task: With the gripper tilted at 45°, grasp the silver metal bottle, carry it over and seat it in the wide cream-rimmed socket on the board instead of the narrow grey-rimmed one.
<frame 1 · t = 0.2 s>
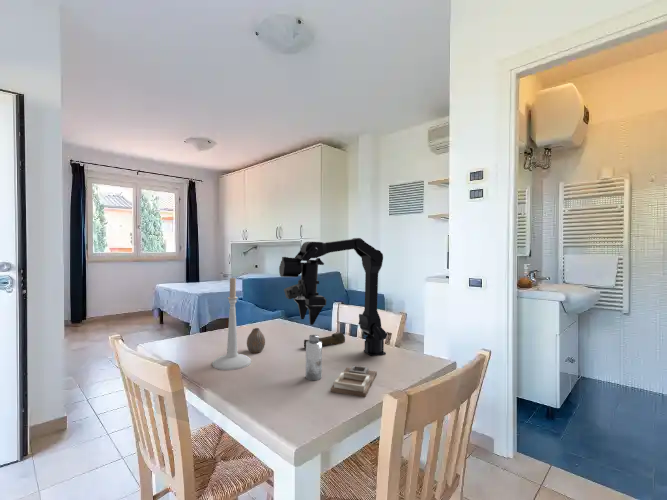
hand: (306, 321, 119), 14 cm above the table, tool pointing down, fingers open, 9 cm apart
candlestick: (232, 363, 118), on the table
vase: (255, 351, 131), on the table
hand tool: (325, 346, 140), on the table
socket board: (355, 382, 103), on the table
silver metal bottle: (313, 377, 106), on the table
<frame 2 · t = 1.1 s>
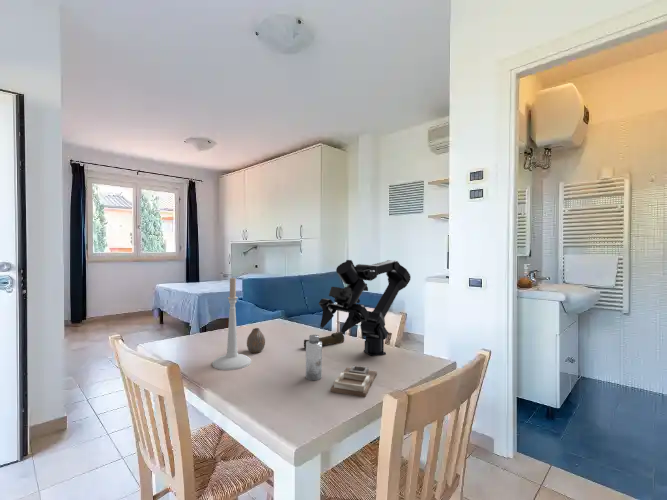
hand: (331, 329, 112), 13 cm above the table, tool tilted 45°, fingers open, 9 cm apart
nothing on the table moved.
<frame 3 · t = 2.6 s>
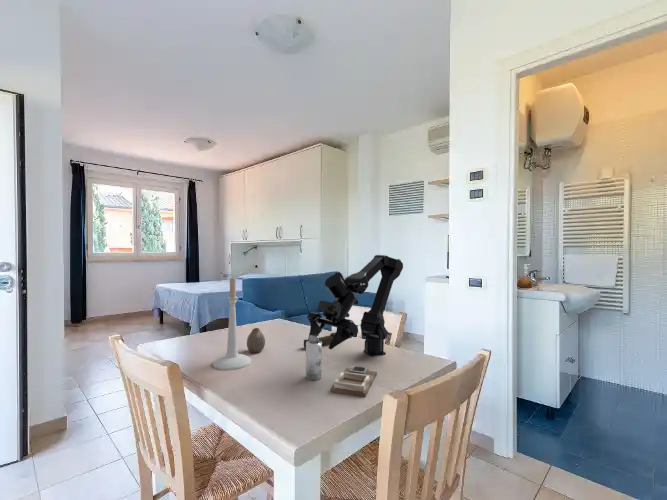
hand: (318, 345, 108), 9 cm above the table, tool tilted 45°, fingers open, 9 cm apart
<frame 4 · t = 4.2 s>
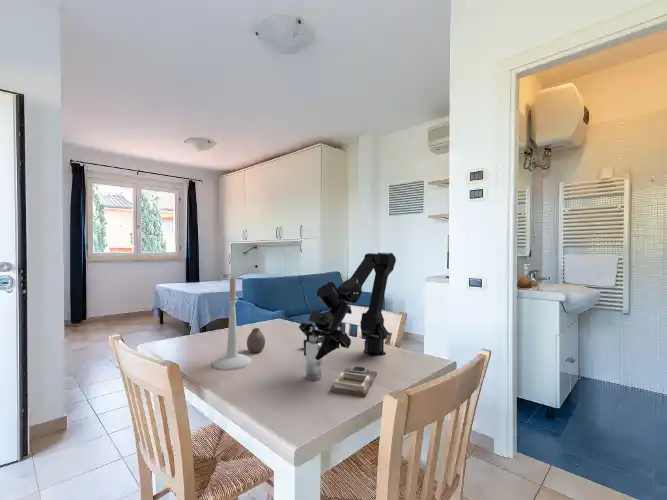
hand: (310, 357, 105), 7 cm above the table, tool tilted 45°, fingers closed on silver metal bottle, 5 cm apart
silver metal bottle: (313, 377, 106), on the table, touching gripper
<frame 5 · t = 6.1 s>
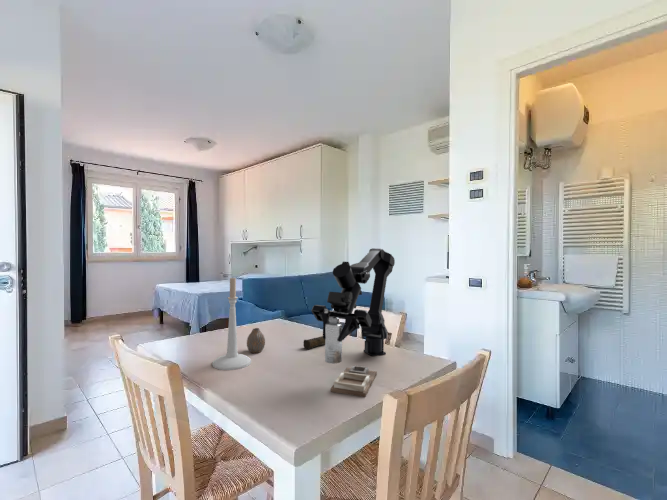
hand: (331, 339, 101), 13 cm above the table, tool tilted 45°, fingers closed on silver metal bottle, 5 cm apart
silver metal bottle: (333, 360, 102), point 7 cm above the table, touching gripper
when the fingers open (9 cm above the table, at t = 8.0 s): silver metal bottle drops 1 cm, resting on socket board.
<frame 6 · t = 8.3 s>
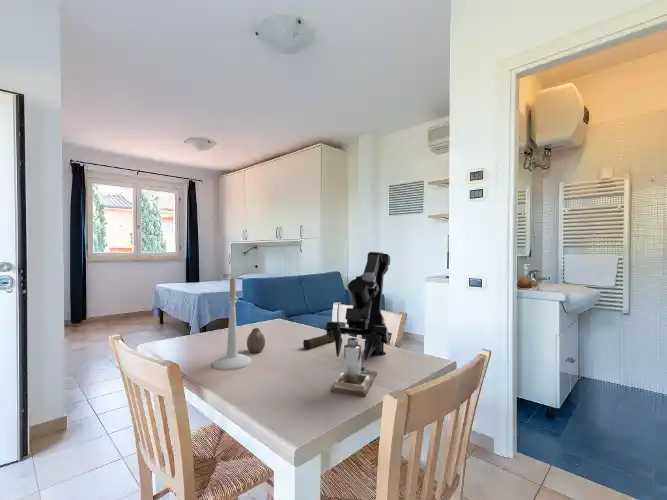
hand: (351, 357, 98), 9 cm above the table, tool tilted 45°, fingers open, 8 cm apart
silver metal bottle: (352, 383, 100), point 1 cm above the table, touching socket board
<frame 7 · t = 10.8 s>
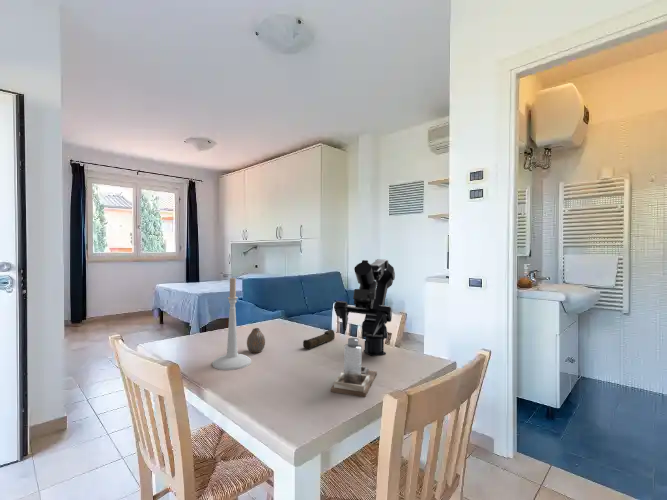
hand: (358, 334, 107), 13 cm above the table, tool tilted 45°, fingers open, 9 cm apart
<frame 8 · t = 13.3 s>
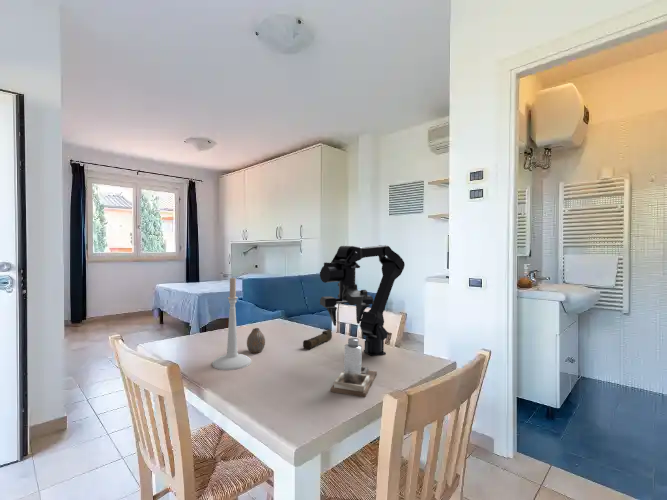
hand: (346, 324, 122), 13 cm above the table, tool pointing down, fingers open, 9 cm apart
at the end: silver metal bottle 0.1 cm from the target spot on the socket board, point 1.0 cm above the socket board's base; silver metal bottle tilted 0°; the gripper is holding nothing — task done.
